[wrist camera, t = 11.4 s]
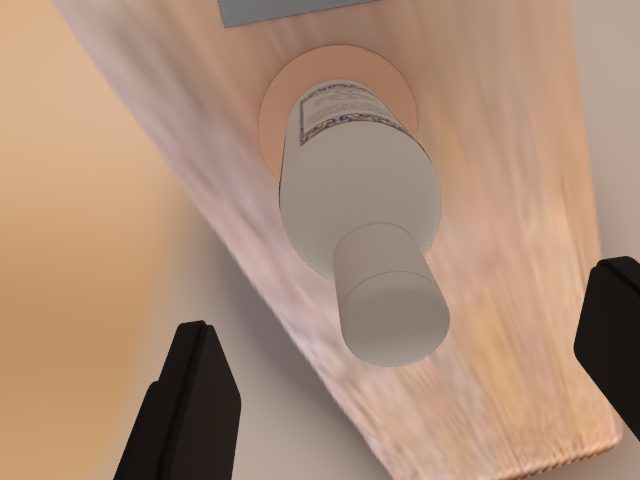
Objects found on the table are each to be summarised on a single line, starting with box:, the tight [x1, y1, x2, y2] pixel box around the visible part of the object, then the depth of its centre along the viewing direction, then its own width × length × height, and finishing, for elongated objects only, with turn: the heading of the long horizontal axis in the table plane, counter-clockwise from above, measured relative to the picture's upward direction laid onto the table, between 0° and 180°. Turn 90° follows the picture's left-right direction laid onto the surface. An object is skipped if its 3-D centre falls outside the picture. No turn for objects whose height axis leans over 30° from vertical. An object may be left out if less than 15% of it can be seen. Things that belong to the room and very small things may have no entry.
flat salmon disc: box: [258, 45, 418, 183], centre depth 29 cm, size 11×11×1 cm
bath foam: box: [279, 79, 450, 367], centre depth 20 cm, size 7×7×20 cm
